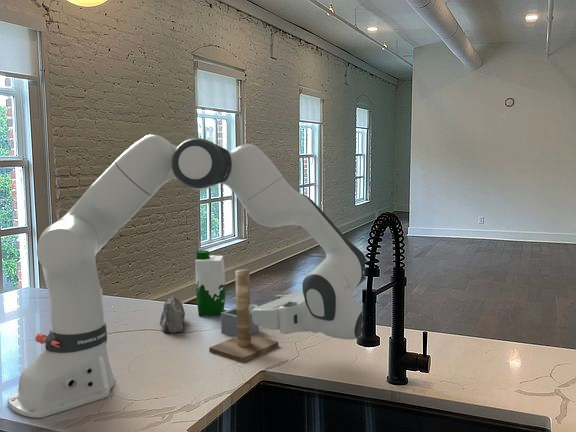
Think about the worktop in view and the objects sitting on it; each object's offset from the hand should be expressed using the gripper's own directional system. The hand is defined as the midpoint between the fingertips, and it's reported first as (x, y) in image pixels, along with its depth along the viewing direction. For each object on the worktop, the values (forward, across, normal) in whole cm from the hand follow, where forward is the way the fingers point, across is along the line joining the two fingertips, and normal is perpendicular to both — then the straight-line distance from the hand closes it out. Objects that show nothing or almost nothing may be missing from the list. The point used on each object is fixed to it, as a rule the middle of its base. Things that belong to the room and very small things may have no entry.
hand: (262, 302), depth 146 cm
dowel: (+7, 0, +12) cm, 14 cm away
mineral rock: (+36, -1, +14) cm, 38 cm away
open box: (+17, -9, +14) cm, 23 cm away
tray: (+7, 0, +14) cm, 15 cm away
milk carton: (+37, -17, +14) cm, 43 cm away
